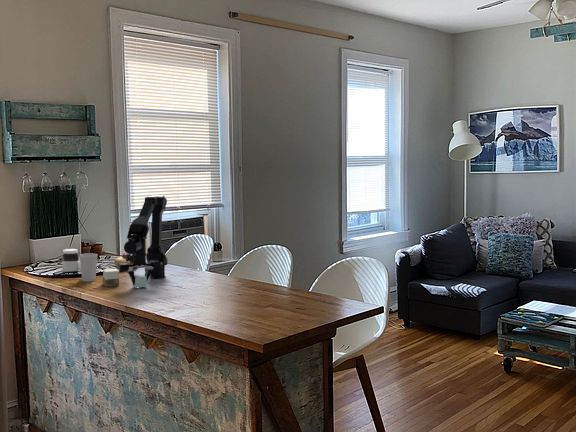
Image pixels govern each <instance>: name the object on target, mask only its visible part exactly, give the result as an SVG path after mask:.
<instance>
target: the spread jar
mask: <svg viewBox="0 0 576 432" xmlns="http://www.w3.org/2000/svg"><path fill="white" fill-rule="evenodd" d="M78 253H79V251H78V248H65V249H63V250H62V257H61V261H62V262H61V263H62V265H61V266H62V269H61V270H62V274H63V273H68V274H69V273H77V274H79V272H80V273H81V263H80V256H79V254H78Z"/></svg>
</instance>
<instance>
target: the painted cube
mask: <svg viewBox="0 0 576 432" xmlns="http://www.w3.org/2000/svg"><path fill="white" fill-rule="evenodd" d="M134 279H135V284H134V285H133V284H131V285H132V287H133V288H134V287H135V288H137V287H148V286H147V283H148V281H147V277H146V276H145V274H144V273H143V274H134ZM135 288H134V289H135ZM137 289H138V288H137Z"/></svg>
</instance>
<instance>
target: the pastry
mask: <svg viewBox="0 0 576 432" xmlns="http://www.w3.org/2000/svg"><path fill="white" fill-rule="evenodd" d="M126 254H127V253H123V254H122V255H121V256H119V257H118V256H117V257H115V259H114V260H113V261H114V263H113V264H114V266H115V269H116V268H117V264H118V263H127V264H130V261H129V262H126ZM135 269H136V268H133V270H135Z"/></svg>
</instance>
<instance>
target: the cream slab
mask: <svg viewBox="0 0 576 432" xmlns="http://www.w3.org/2000/svg"><path fill="white" fill-rule="evenodd" d="M102 272H103V273H102V276H103V277H104V278H105V279H106V280H107V279H119V280H120V271H119V270H117V268H116V267H115V268H105V269H102ZM103 277H102V278H103Z"/></svg>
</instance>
